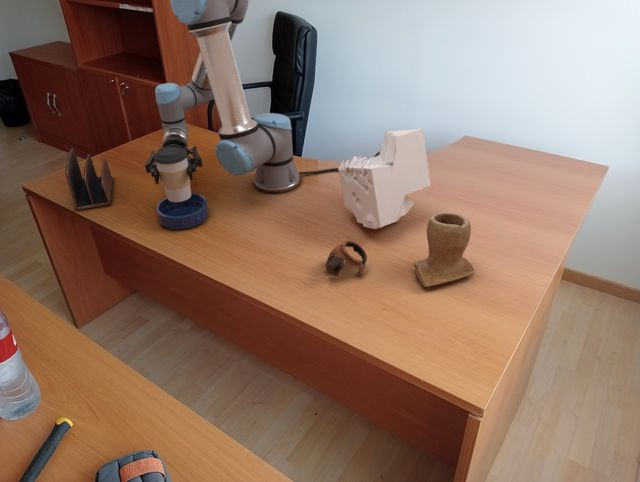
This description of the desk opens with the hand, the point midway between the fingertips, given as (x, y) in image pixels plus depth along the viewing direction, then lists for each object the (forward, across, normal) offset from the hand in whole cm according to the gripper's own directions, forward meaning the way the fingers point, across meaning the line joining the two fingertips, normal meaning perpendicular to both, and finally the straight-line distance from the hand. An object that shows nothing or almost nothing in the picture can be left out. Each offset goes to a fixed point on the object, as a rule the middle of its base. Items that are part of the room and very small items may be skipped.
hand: (173, 177), depth 134 cm
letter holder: (-27, +29, -16) cm, 43 cm away
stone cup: (+39, -63, -15) cm, 76 cm away
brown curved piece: (+33, -40, -16) cm, 54 cm away
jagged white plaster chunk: (+11, -57, -16) cm, 60 cm away
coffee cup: (-5, 0, -9) cm, 10 cm away
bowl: (-4, 0, -16) cm, 16 cm away
